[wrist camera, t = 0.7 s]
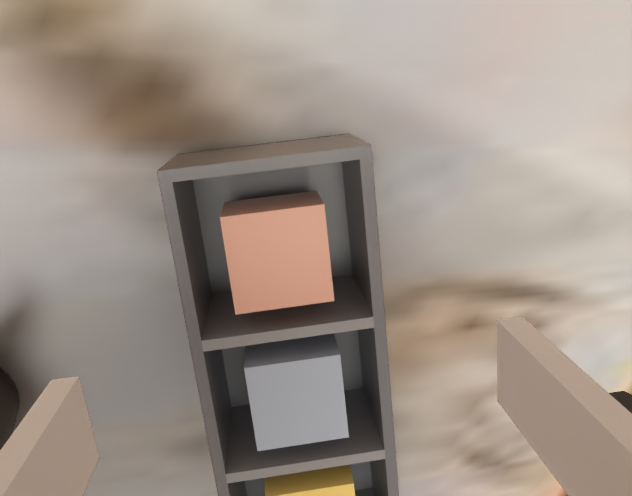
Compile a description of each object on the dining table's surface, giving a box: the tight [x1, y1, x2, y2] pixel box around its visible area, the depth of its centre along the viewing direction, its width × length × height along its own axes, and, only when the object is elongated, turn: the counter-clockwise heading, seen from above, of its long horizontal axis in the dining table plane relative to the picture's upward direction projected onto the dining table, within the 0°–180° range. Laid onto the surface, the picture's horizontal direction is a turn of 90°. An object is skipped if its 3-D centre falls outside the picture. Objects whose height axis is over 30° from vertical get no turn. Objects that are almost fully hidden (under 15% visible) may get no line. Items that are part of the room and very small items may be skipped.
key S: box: [244, 333, 349, 451], centre depth 31 cm, size 5×5×4 cm
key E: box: [220, 191, 335, 315], centre depth 29 cm, size 5×5×4 cm
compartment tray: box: [157, 134, 399, 496], centre depth 34 cm, size 10×34×7 cm, turn 6°
